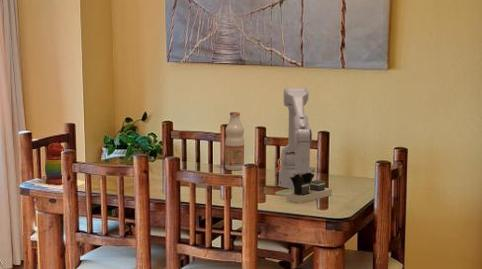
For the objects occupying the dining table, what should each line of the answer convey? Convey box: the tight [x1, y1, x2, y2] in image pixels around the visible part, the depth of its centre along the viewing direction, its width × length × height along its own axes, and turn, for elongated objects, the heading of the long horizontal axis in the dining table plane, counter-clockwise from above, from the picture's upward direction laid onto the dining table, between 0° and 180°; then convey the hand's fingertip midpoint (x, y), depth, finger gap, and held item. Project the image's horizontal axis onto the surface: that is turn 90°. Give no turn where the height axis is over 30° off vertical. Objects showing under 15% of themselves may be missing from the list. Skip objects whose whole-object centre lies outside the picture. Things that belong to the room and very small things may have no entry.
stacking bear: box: [44, 141, 66, 186], centre depth 306 cm, size 11×10×18 cm
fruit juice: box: [224, 111, 245, 171], centre depth 340 cm, size 9×9×28 cm
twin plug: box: [309, 179, 326, 192], centre depth 282 cm, size 4×4×6 cm
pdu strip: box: [286, 187, 333, 204], centre depth 279 cm, size 7×20×3 cm, turn 136°
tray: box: [274, 188, 294, 198], centre depth 285 cm, size 9×9×2 cm
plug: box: [293, 181, 310, 196], centre depth 275 cm, size 4×4×6 cm
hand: (301, 192), depth 275 cm, fingers closed on plug, 4 cm apart
